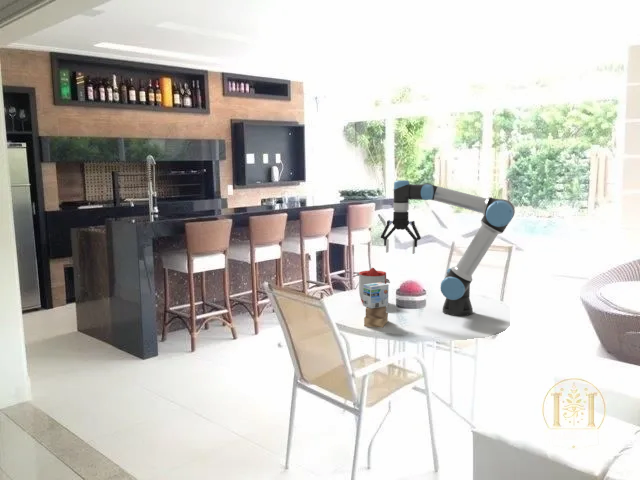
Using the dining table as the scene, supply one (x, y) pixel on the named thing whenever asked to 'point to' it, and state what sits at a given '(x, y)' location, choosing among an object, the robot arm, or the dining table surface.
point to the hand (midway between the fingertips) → (400, 252)
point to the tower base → (375, 321)
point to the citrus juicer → (370, 279)
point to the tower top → (376, 312)
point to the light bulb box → (375, 295)
